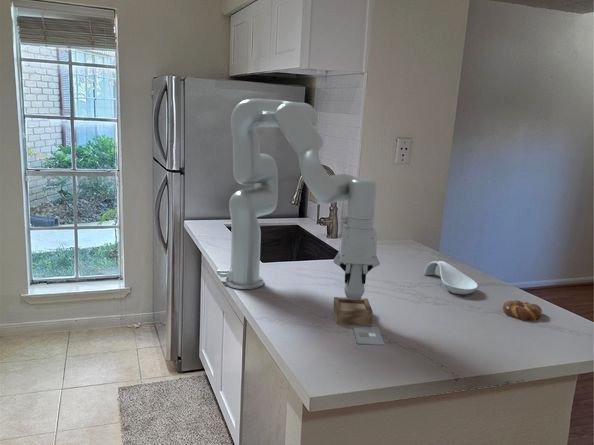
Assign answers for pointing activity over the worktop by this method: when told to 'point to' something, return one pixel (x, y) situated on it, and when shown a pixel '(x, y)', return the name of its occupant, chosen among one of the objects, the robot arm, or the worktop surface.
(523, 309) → the pretzel
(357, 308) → the wooden crate
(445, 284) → the spoon rest
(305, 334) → the worktop surface
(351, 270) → the salt shaker
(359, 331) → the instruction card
